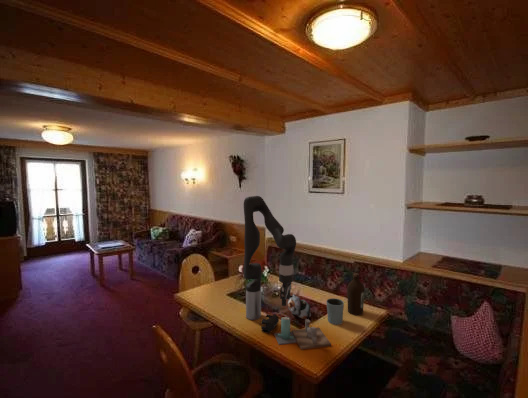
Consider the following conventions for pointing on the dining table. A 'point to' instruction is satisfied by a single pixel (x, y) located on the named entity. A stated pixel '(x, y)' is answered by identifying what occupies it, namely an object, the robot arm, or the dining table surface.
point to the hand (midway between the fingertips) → (285, 302)
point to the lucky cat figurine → (299, 307)
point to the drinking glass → (335, 311)
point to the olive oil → (355, 296)
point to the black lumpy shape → (269, 323)
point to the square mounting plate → (310, 337)
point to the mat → (282, 341)
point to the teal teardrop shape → (285, 329)
